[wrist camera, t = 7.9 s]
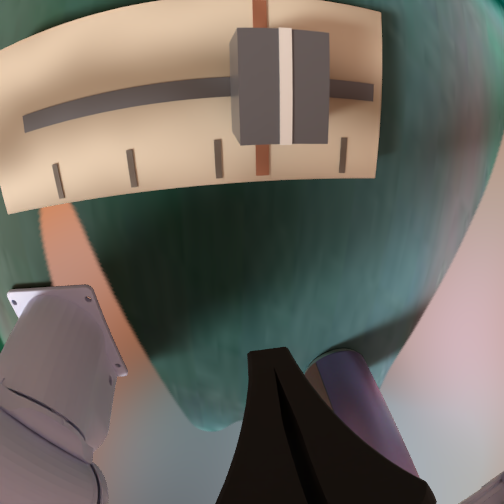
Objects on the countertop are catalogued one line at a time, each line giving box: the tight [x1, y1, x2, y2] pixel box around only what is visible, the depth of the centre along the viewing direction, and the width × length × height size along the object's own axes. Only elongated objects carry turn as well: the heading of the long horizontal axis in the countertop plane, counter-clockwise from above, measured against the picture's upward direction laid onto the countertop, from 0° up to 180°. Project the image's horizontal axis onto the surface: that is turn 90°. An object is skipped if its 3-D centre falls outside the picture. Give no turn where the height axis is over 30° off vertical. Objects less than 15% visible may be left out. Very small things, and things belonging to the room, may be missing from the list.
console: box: [0, 0, 382, 214], centre depth 13 cm, size 9×20×3 cm, turn 91°
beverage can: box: [305, 349, 419, 478], centre depth 20 cm, size 6×6×15 cm
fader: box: [229, 27, 330, 146], centre depth 10 cm, size 4×3×4 cm
